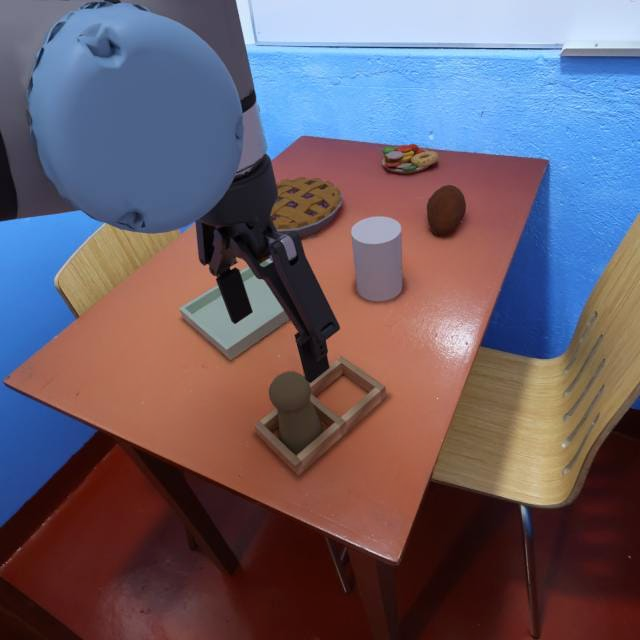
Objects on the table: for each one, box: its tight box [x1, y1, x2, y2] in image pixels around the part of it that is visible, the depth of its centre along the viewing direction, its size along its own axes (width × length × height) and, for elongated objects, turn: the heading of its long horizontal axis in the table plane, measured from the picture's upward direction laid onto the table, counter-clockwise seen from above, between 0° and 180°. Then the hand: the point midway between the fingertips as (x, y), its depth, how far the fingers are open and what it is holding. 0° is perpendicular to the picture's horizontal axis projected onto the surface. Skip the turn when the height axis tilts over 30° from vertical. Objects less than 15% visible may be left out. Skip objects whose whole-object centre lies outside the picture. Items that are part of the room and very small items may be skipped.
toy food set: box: [381, 143, 440, 175], centre depth 117 cm, size 13×13×3 cm
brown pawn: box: [268, 371, 325, 454], centre depth 60 cm, size 6×6×11 cm
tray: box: [178, 258, 290, 361], centre depth 84 cm, size 20×16×3 cm
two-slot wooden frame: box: [253, 355, 387, 477], centre depth 65 cm, size 17×9×2 cm, turn 133°
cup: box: [350, 215, 403, 302], centre depth 81 cm, size 8×8×12 cm
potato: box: [426, 184, 467, 236], centre depth 94 cm, size 8×12×8 cm, turn 160°
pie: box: [270, 176, 344, 239], centre depth 105 cm, size 22×22×5 cm
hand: (277, 343), depth 52 cm, fingers open, 13 cm apart
